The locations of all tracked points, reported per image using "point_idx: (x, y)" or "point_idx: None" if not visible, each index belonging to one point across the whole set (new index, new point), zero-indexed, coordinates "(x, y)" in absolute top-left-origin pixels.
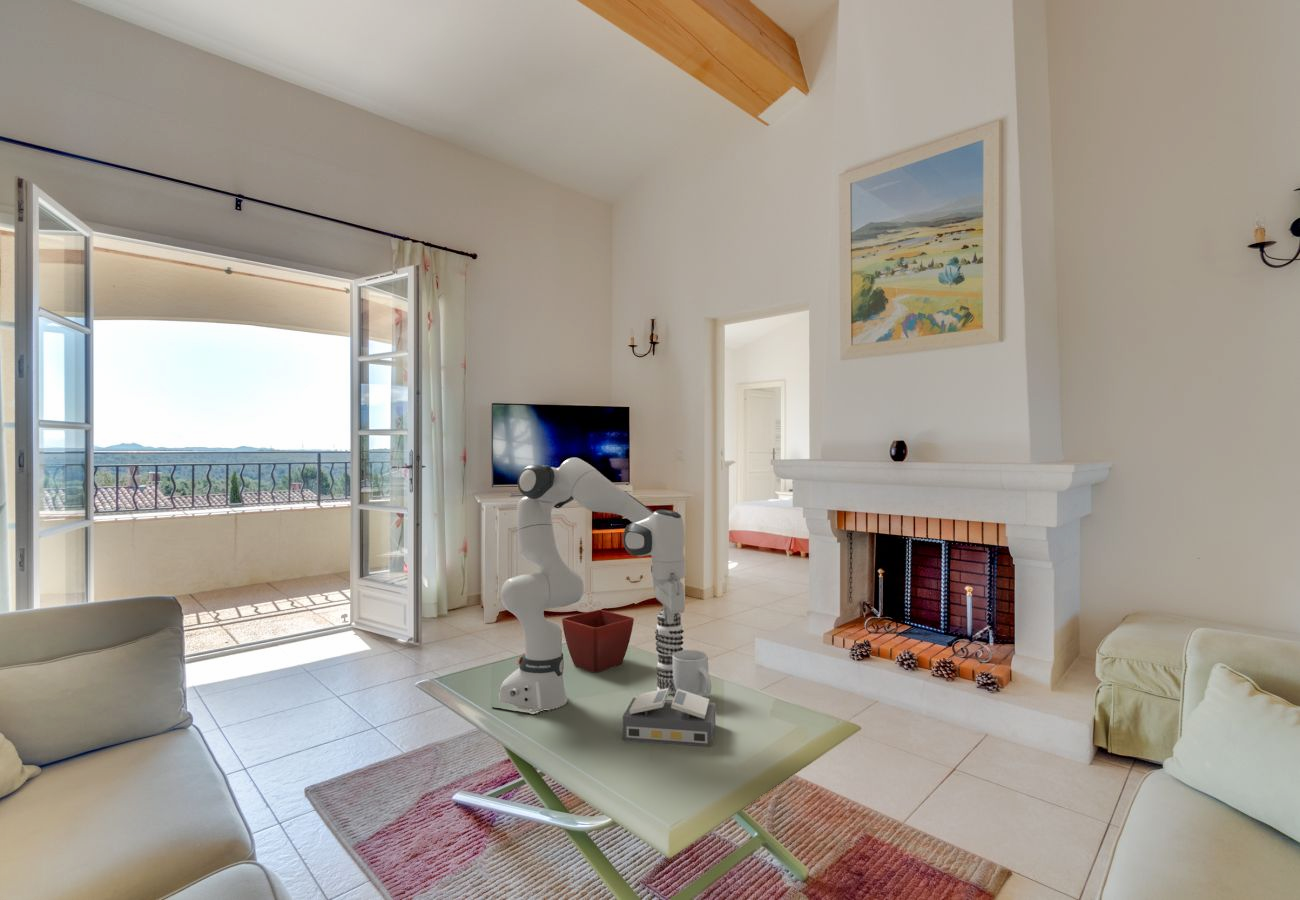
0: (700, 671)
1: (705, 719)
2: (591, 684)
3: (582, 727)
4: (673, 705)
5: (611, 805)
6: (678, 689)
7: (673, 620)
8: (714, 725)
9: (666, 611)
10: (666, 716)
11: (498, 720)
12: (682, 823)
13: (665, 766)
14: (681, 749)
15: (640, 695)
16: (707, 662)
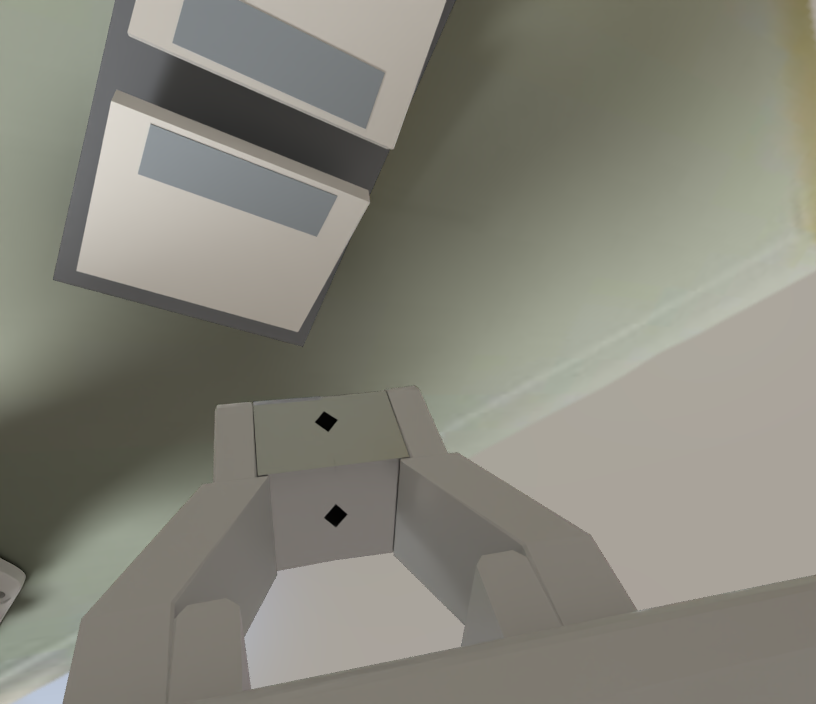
0: None
1: None
2: None
3: (155, 426)
4: (397, 137)
5: (653, 353)
6: (143, 30)
7: (427, 408)
8: None
9: (242, 612)
10: (347, 151)
11: (74, 641)
12: (809, 201)
13: (535, 180)
14: (433, 80)
15: (107, 262)
16: None
